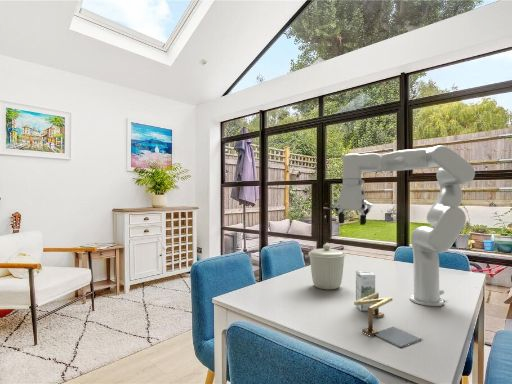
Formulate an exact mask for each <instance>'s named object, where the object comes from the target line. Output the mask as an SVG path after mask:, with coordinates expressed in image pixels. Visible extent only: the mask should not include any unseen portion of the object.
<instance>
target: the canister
mask: <svg viewBox="0 0 512 384" xmlns="http://www.w3.org/2000/svg"><path fill="white" fill-rule="evenodd" d="M307 255H308V256H309V263H310V270H311V271H310V272H311V278H312V284H313V285H314V286H315V287H316V288H318V289H321V290H327V291H329V290H330V291H331V290H336V289H339V288H340V287H341V285H342V280H343V273H344V263H345V257H346V255H347V254H346V253H345V252H343V251H342V250H339V249H335V248H331V245H330V244H329V243H325V244H323V246H322V248H314V249H312V250H310V251H309V252H308V254H307Z"/></svg>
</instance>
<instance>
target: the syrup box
mask: <svg viewBox="0 0 512 384" xmlns="http://www.w3.org/2000/svg"><path fill="white" fill-rule="evenodd" d="M375 292H376V275H375V274H374V272H372V271H370V270H365V271H364V270H362V271H361V270H358V271H355V301H357V300H360V299H362V298H364V297H367V296H369V295H371V294H373V293H375ZM372 299H375V298H372ZM370 300H371V299H370ZM374 304H375V303H371V304H364V305H355V307H356V308H357V309H359V310H360V312H368V307H370V306H372V305H374ZM373 311H375V310H373Z"/></svg>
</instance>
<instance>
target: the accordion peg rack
mask: <svg viewBox="0 0 512 384" xmlns="http://www.w3.org/2000/svg"><path fill="white" fill-rule="evenodd" d="M372 298H375V299H372ZM370 299H371V300H370ZM392 301H393V297H391V296H389V297H379V292H377V291H375V293H373V294H371V295H369V296H367V297H364V298H362V299H360V300H357V301H356V300H355V301H353V304H354V306H356V305H364V304H371V303H375V304H374V305H372V306H370V307H368V311H367V325H368V326H367V327H366V328H364V329H363V328H362V329H361V332H364V333H366V334H368V335H370V336H373V335H375V334H377V333H379V331H380V330H378V329H374V328H373V326H374V323H373V321H374V319H373V318H375V317H376V318H375V319H380V317H381V318H384V317H385V314H384V313H383V312H380V310H379V308H380V307H382V306H384V305H387V304H388V303H390V302H392ZM373 310H375V311H373ZM373 316H374V317H373ZM383 316H384V317H383ZM364 333H363V334H364ZM366 334H365V335H366ZM368 335H367V336H368ZM370 336H369V337H370ZM373 337H374V336H373Z"/></svg>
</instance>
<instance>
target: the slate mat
mask: <svg viewBox="0 0 512 384" xmlns="http://www.w3.org/2000/svg"><path fill="white" fill-rule="evenodd" d="M378 331H379V333H377V334H375V335H376V336H375V337H377V336H378V337H377V338H379V337H380V338H379V339H381V338H382V339H381V340H383V339H384V340H383V341H385V340H386V341H385V342H387V341H388V342H387V343H389V342H391V343H393V344H395V345H397V346H399V347H398V348H400V347H402V348H404V347H403V346H405V347H407V346H406V345H408V344H410V345H412V344H411V343H413V344H415V343H418V342H420V341H422V337H419V336H416V335H414V334H412V333H409V332H406V331H405V330H402V329H400V328H397V327H395V326H391V327H387V328H384V329H382V330H378ZM417 341H418V342H417ZM414 342H415V343H414ZM391 343H390V344H391ZM393 344H392V345H393ZM395 345H394V346H395ZM397 346H396V347H397ZM408 346H409V345H408Z"/></svg>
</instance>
